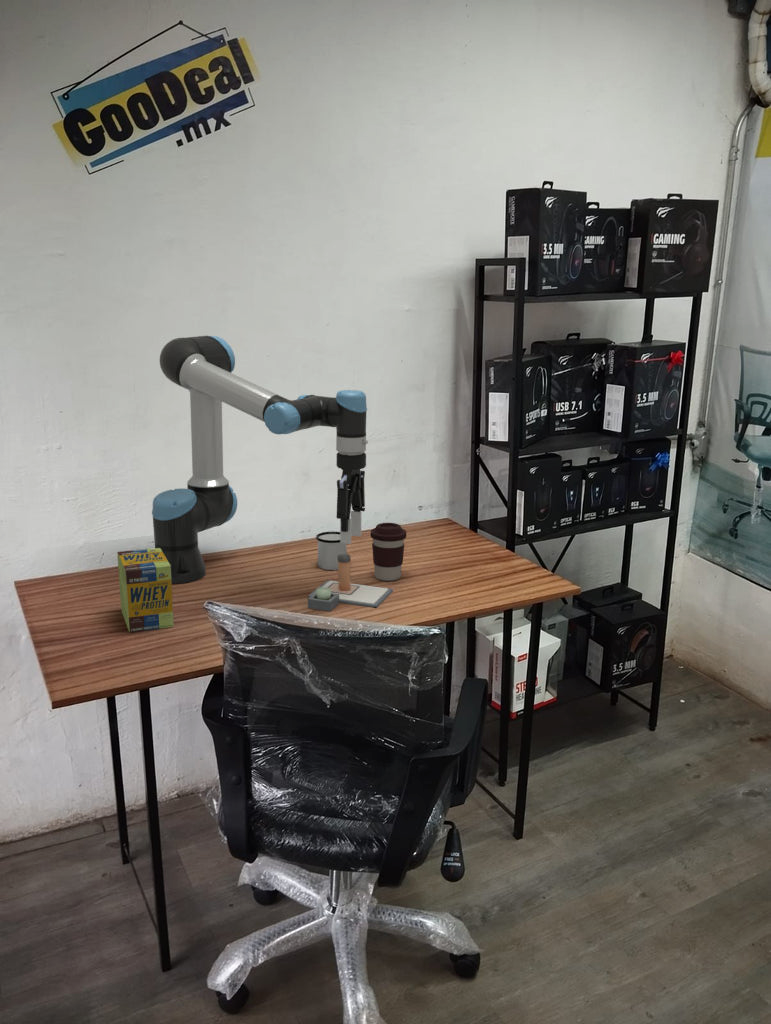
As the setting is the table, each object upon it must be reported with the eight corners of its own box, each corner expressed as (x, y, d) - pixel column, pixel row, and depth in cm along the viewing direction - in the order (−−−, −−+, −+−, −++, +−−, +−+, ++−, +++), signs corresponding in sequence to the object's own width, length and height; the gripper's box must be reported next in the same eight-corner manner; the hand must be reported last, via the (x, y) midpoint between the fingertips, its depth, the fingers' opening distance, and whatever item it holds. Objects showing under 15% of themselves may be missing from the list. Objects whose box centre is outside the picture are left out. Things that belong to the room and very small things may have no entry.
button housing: (308, 608, 213) (308, 598, 213) (317, 600, 219) (317, 591, 218) (330, 611, 212) (330, 602, 211) (339, 603, 217) (339, 594, 216)
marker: (336, 590, 223) (335, 557, 221) (340, 586, 227) (339, 553, 224) (348, 591, 223) (348, 558, 220) (352, 587, 226) (352, 554, 223)
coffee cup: (401, 584, 231) (403, 531, 227) (366, 581, 233) (367, 529, 229) (408, 572, 241) (409, 522, 237) (374, 570, 243) (374, 519, 239)
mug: (352, 569, 243) (352, 539, 240) (320, 572, 240) (320, 542, 237) (340, 556, 254) (340, 527, 251) (310, 559, 251) (309, 530, 248)
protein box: (129, 633, 197) (124, 570, 193) (120, 610, 210) (116, 551, 206) (174, 627, 201) (171, 565, 197) (163, 604, 214) (160, 546, 210)
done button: (314, 602, 214) (314, 591, 213) (320, 597, 217) (320, 586, 216) (327, 604, 213) (327, 593, 212) (333, 599, 216) (333, 588, 215)
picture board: (307, 598, 220) (307, 594, 220) (327, 582, 232) (327, 578, 232) (376, 607, 214) (376, 604, 214) (393, 591, 226) (393, 587, 226)
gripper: (350, 460, 204) (350, 551, 210) (378, 446, 222) (377, 530, 228) (322, 458, 207) (322, 548, 213) (351, 444, 224) (351, 528, 230)
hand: (350, 539), depth 220 cm, fingers open, 6 cm apart
